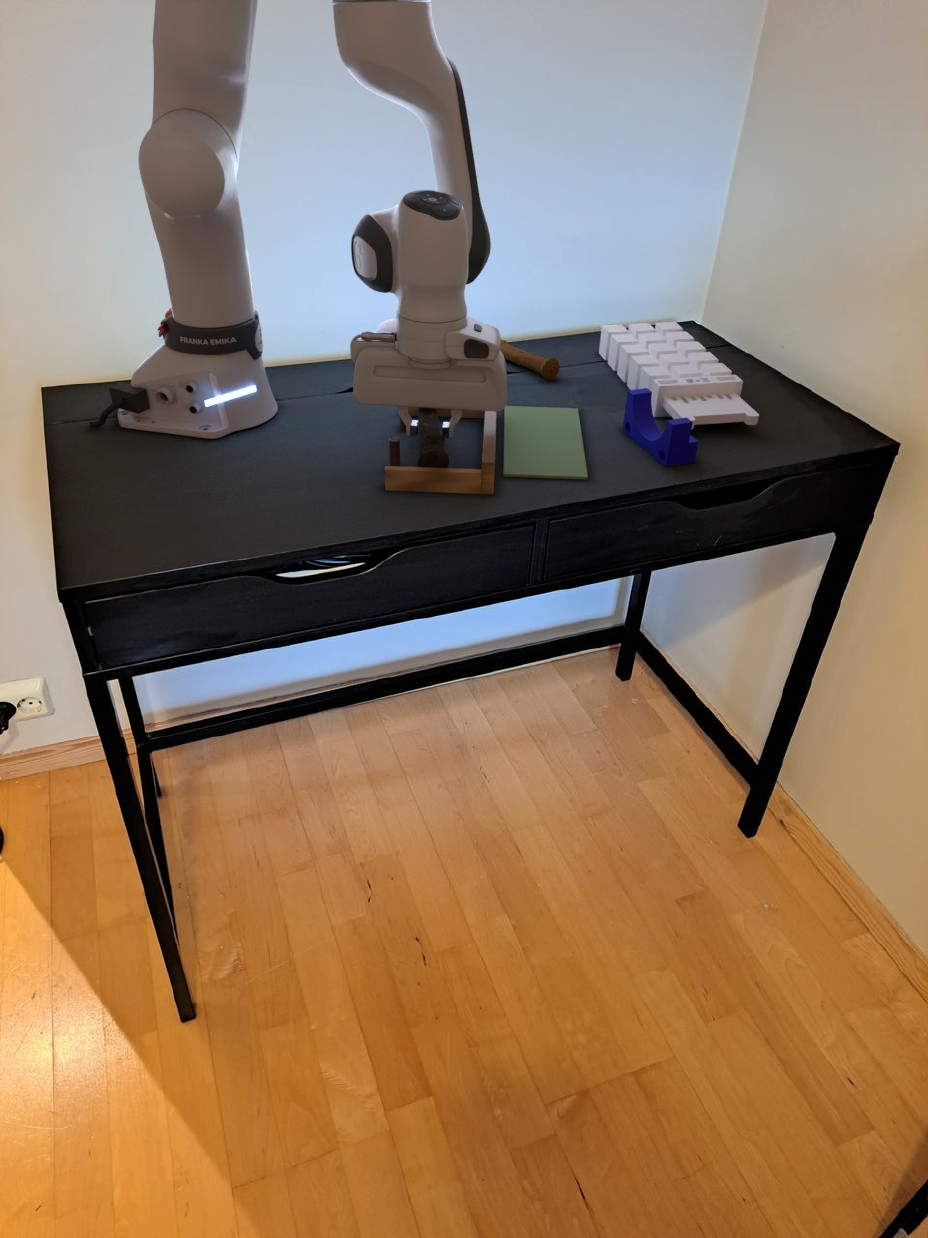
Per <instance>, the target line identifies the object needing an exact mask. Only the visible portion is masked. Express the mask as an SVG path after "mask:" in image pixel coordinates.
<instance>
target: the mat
mask: <svg viewBox="0 0 928 1238" xmlns="http://www.w3.org/2000/svg"><path fill="white" fill-rule="evenodd" d="M503 410H504V411H503V412H504V418H503V423H504V424H503V470H502V471H503V473H502V474H503V475H502V476H503V477H506V478H508V477H510V478H532V479H534V478H536V479H559V480H560V479H561V480H562V479H563V480H565V479H566V480H585V481H587V480H588V479H589V476H588V469H587V461H586V455H585V454H586V453H585V448H584V439H583V434H582V433H583V432H582V427H581V419H580V413H579V408H578V407H555V406H554V407H551V406H522V405H506V406H505V407H504V409H503Z"/></svg>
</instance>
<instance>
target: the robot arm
mask: <svg viewBox="0 0 928 1238" xmlns="http://www.w3.org/2000/svg"><path fill="white" fill-rule="evenodd" d="M258 3H259V0H155V1H154V14H153V15H154V16H153V31H152V50H153V51H152V52H153V55H152V57H153V93H152V94H153V96H152V97H153V98H152V102H153V103H152V120H151V125H150V128H149V129H148V130H147V132H146V133H145V135H144V136H143V138H142V140H141V142H140V145H139V150H138V156H137V157H138V160H137V161H138V170H139V175H140V178H141V183H142V187H143V191H144V195H145V200H146V204H147V208H148V212H149V216H150V219H151V223H152V226H153V227H152V228H153V230H154V233H155V237H156V240H157V243H158V246H159V250H160V255H161V258H162V263H163V269H164V274H165V280H166V285H167V291H168V296H169V302H170V308H169V309H168V310H167V311H166V312H165V314H164V318H163V319H162V320H161V321H160V325H159V326H158V327H157V329H156V330H157V332H158V335H157V336H158V337H159V338H161V337H162V340H163V341H164V342H163V343H162V344H161V345H159V346H158V347H157V348H156V349H155V350H153V352H151V353H150V354H149V355H148V356H147V357H146V358H145V359H144V360H143V361H142V362H141V363H140V364H138V366H137V367H136V368H135V370H134V371H133V374H132V376H131V381H130V384H129V383H124V382H121V381H120V382H117V383H114V384H113V385H111V386H110V385H109V386H108V391H109V394H110V399H111V404H110V405H109V406H107V407H106V408H105V409H104V410H103V411H102V412H101V413H100V417H99V419H98V420H96V421H89V425H90V428H91V429H97V428H100V427H102V426H103V425H105V424H106V422H107V419H108V417H109V415H111V414H112V413H113V412H114V411H116V410H117V409H118V411H117V421H118V424H119V426H120V427H121V428H124V429H131V430H138V431H147V432H154V433H163V434H171V435H179V436H186V437H193V438H201V439H207V440H209V439H210V440H214V439H220V438H222V437H225V436H227V435H229V434H231V433H234V432H237V431H242V430H246V429H249V428H250V429H251V428H253V427H257V426H259V425H262V424H263V423H266V422H268V421H269V420H271V419H272V418H273V417H274V416H275V415H276V414H277V412H278V410H279V406H278V403H277V401H276V399H275V397H274V394H273V391H272V388H271V385H270V382H269V378H268V376H267V372H266V367H265V363H264V359H263V351H264V340H263V332H262V325H261V322H260V316H259V312H258V311H257V309H256V308H255V300H254V291H253V290H254V289H253V283H252V274H251V273H252V272H251V266H250V265H251V264H250V258H249V257H250V256H249V251H248V246H247V241H246V236H245V231H244V226H243V219H242V213H241V212H242V211H241V206H240V200H239V193H238V185H237V178H238V177H237V176H238V175H237V174H238V171H239V167H240V159H241V151H242V144H243V143H242V142H243V133H244V132H243V131H244V125H245V124H244V123H245V116H246V106H247V105H246V104H247V96H248V88H249V87H248V86H249V78H250V68H251V60H252V52H253V43H254V36H255V28H256V19H257V11H258ZM332 11H333V23H334V24H333V26H334V33H335V41H336V46H337V49H338V53H339V56H340V59H341V61H342V63H343V65H344V67H345V68H346V69H347V72H348V73H349V74H350V75H351V76H352V78H354V79H355V80H356V82H358V83H359V84H360V85H361V86H362V87H364V88H365V89H366V90H368V91H369V92H371V93H373V94H375V95H376V96H379V97H381V98H383V99H386V100H388V101H390V102H392V103H395V104H397V105H399V106H401V107H403V108H405V109H407V110H408V111H410V112H411V113H412V114H414V115H415V116H416V117H417V118H418V120H419V121H420V122H421V124H422V125H423V127H424V129H425V131H426V134H427V137H428V142H429V143H428V144H429V150H430V154H431V162H432V167H433V172H434V177H435V183H436V190H432V189H418V190H413V191H409V192H407V193H405V194H404V195H402V196H401V198H400V199H399V200H398V202H397V204H396V205H394V206H392V207H389V208H386V209H382V210H377V211H373V212H370V213H367V214H365V215H364V216H362V217H361V218H360V220H359V221H358V223H357V224H356V226H355V228H354V230H353V233H352V235H351V240H350V241H351V242H350V253H351V261H352V262H351V263H352V267H353V272H354V273H355V275H356V277H357V278H358V279H359V280H360V281H361V282H362V283H363V284H365V285H366V286H367V287H368V288H370V289H371V290H372V291H375V292H378V293H383V294H388V293H390V294H393V295H394V296H396V300H397V302H396V308H395V319H396V333H394V332H379V333H377V332H376V333H375V331H370V330H365V331H361V333H360V334H357V335H355V336H353V337H352V339H351V341H350V344H349V350H350V353H349V354H350V359H351V361H352V363H354V365H355V366H354V373H353V383H352V396H353V398H354V399H355V400H356V402H357V403H358V404H360V405H368V406H372V405H373V406H386V407H388V406H390V407H397V415H398V416H399V418H400V417H401V419H402V421H403V422H404V424H405V425H406V431H405V432H406V433H405V435H406V436H405V437H409V438H410V437H411V438H412V437H413V438H414V437H415V438H416V437H417V438H418V437H419V420H418V419H413V418H412V416H410V414H409V413H408V411H409V408H410V407H422V408H441V409H451V416H453V417H450V420H449V421H443V423H442V426H441V432H442V435H443V436H444V440H445V439H446V440H447V439H448V440H454V433H455V427H456V425H457V424H458V423H459V421H460V420H461V418H462V417H461V416H462V410H477V411H494V412H497V413H498V412H499V413H500V412H502V411H503V410H504V408H505V406H508V372H507V363H506V359H505V358H504V356H503V354H502V352H501V351H500V346H501V340H502V338H501V333H500V330H499V329H498V328H497V327H495V326H493V325H490V324H488V323H484V322H483V321H479V320H477V319H474V318H472V317H469V316H468V307H467V303H466V299H465V298H466V297H465V290H466V286H467V285H470V284H472V283H474V281H475V280H477V278H478V277H479V276H480V274H481V273H482V271H483V270H484V268H485V266H486V265H487V263H488V260H489V258H490V255H491V249H492V247H491V246H492V245H491V244H492V243H491V234H490V229H489V226H488V222H487V219H486V216H485V212H484V209H483V205H482V201H481V195H480V188H479V185H478V183H479V182H478V176H477V170H476V163H475V162H476V161H475V157H474V149H473V142H472V136H471V130H470V124H469V123H470V122H469V116H468V110H467V105H466V99H465V93H464V88H463V85H462V80H461V77H460V74H459V71H458V68H457V66H456V65H455V63H454V61H452V60H451V59H450V58H448V57H447V56H446V55H445V53H444V51H443V49H442V47H441V44H440V42H439V39H438V36H437V32H436V28H435V23H434V18H433V9H432V0H332ZM396 341H397V343H396Z"/></svg>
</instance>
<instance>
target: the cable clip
mask: <svg viewBox="0 0 928 1238" xmlns="http://www.w3.org/2000/svg"><path fill="white" fill-rule="evenodd" d="M651 396H652V392H651V391H650V390H648V389H647V388H643V389H636V390H630V389H629V390H627V394H626V400H625V401H626V402H625V409H624V417H623V423H622V432H624V434H626V435H627V436H628V437H629V438H631V439H632V440H633V441H635V442H636V443H637V444H638V445H639V446H640V447H642V448H643V449H644V450H646V452H648V453H649V454H650V455H651V456H652V457H654V458H655V459H656V460H657V461H658V462H660V463H661V464H662V465H663V466H664V467H665V468H666V467H673V466H677V465H684V464H690V463H695V462H696V456H697V452H698V446H699V440H698V439H696V438H695V437H694V436H692V434H691V433H692V430H693V429H692V423H693V422H692V421H691V420H689V419H688V418H687V417H686V418H680V419H673V418H672V419H668V420H667V419H666V423H665V427H664V430H663V432H662V431H661V430H660V428H659V427H658V425H657V423H656V420H655V417H654V416H653V413H652V406H651Z"/></svg>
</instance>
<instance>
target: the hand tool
mask: <svg viewBox="0 0 928 1238" xmlns="http://www.w3.org/2000/svg"><path fill="white" fill-rule="evenodd" d="M417 420H418V437H419V439H418V440H419V456H418V459H417V467H430V468H449V467H448V466H449V465H450V461H451V460H450V455H449V454H448V453H447V451H445V438H444V436H443V435H442V434H441V427H440V422H439V417H438V416H437V408H422V407H418V416H417Z"/></svg>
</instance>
